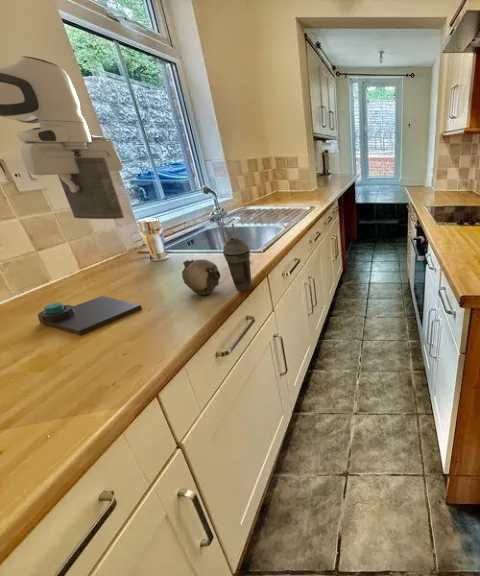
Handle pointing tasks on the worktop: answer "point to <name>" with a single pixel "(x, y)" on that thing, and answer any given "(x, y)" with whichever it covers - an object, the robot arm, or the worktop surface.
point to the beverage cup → (238, 262)
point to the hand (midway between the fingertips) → (87, 190)
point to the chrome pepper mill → (153, 238)
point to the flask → (93, 190)
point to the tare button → (54, 308)
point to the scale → (88, 315)
